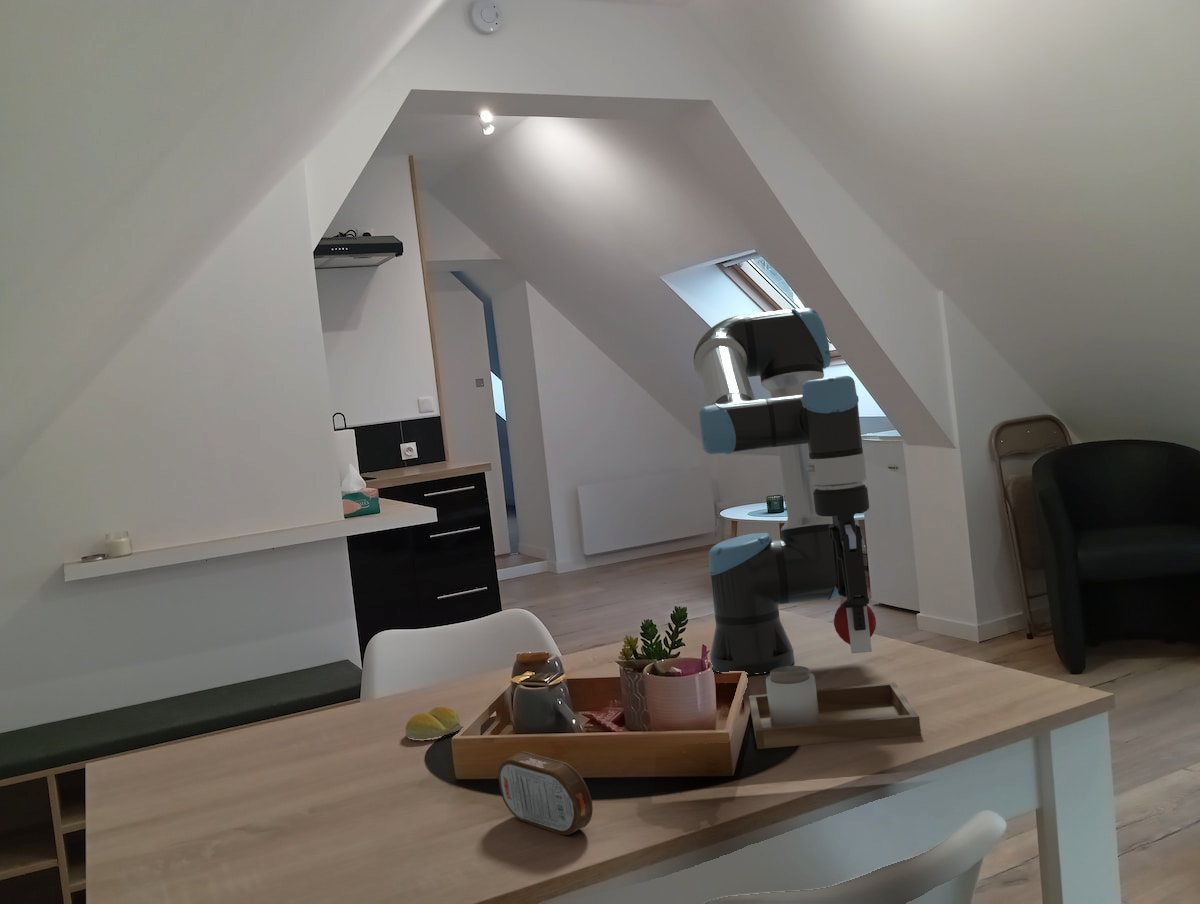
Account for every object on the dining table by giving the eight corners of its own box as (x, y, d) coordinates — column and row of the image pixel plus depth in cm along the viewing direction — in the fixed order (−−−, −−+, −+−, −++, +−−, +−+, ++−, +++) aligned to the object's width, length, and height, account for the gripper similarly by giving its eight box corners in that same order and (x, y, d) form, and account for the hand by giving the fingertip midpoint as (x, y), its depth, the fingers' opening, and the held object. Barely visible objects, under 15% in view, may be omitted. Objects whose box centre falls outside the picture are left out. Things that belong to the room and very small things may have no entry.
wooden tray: (751, 718, 152) (748, 695, 152) (897, 705, 150) (895, 682, 150) (758, 755, 136) (755, 730, 136) (921, 741, 134) (919, 716, 134)
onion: (883, 650, 139) (877, 594, 139) (842, 655, 139) (835, 599, 139) (872, 640, 145) (866, 586, 145) (833, 645, 145) (827, 591, 145)
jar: (769, 719, 148) (763, 667, 147) (816, 715, 147) (810, 662, 147) (773, 736, 141) (766, 680, 140) (823, 731, 140) (816, 675, 140)
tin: (598, 834, 118) (589, 765, 118) (579, 845, 116) (570, 774, 115) (517, 808, 129) (509, 744, 128) (498, 817, 127) (490, 752, 126)
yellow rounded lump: (399, 737, 165) (396, 713, 165) (448, 722, 170) (445, 699, 170) (418, 747, 159) (415, 723, 158) (469, 731, 163) (466, 707, 163)
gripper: (805, 483, 151) (822, 633, 152) (821, 495, 132) (840, 666, 133) (855, 477, 150) (872, 628, 151) (878, 488, 132) (897, 660, 132)
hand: (857, 645), depth 142 cm, fingers closed on onion, 6 cm apart
